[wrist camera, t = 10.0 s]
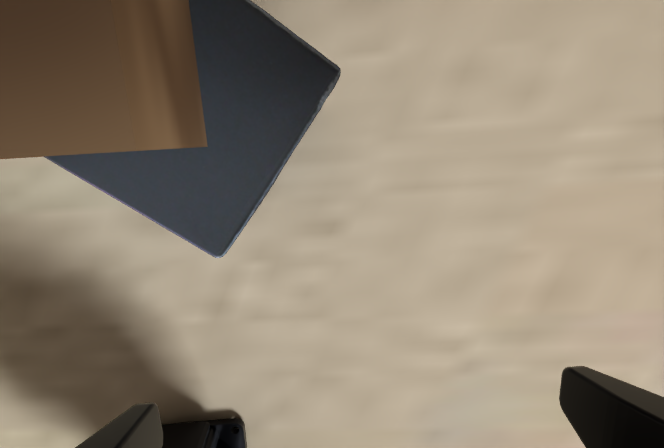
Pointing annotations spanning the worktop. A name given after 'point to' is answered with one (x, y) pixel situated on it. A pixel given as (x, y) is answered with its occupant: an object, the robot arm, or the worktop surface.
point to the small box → (223, 128)
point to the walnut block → (97, 77)
